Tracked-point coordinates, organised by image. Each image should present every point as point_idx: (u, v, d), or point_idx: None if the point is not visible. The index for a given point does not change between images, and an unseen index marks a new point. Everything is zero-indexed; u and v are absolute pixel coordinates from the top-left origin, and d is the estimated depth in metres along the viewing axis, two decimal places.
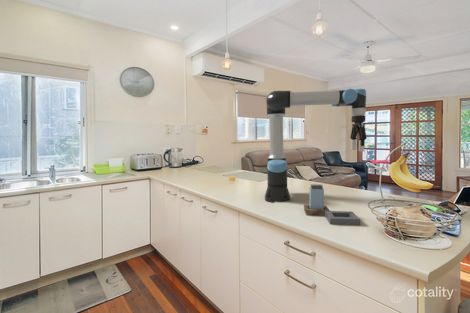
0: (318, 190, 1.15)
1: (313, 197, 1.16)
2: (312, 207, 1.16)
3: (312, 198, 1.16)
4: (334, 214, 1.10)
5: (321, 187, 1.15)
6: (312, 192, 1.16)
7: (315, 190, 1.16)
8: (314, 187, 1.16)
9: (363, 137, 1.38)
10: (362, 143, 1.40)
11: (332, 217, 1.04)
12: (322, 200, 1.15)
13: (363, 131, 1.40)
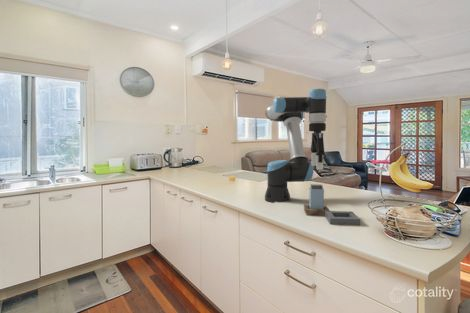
0: (318, 190, 1.15)
1: (313, 197, 1.16)
2: (312, 207, 1.16)
3: (312, 198, 1.16)
4: (334, 214, 1.10)
5: (321, 187, 1.15)
6: (312, 192, 1.16)
7: (315, 190, 1.16)
8: (314, 187, 1.16)
9: (320, 152, 1.06)
10: (320, 159, 1.08)
11: (332, 217, 1.04)
12: (322, 200, 1.15)
13: (321, 144, 1.07)
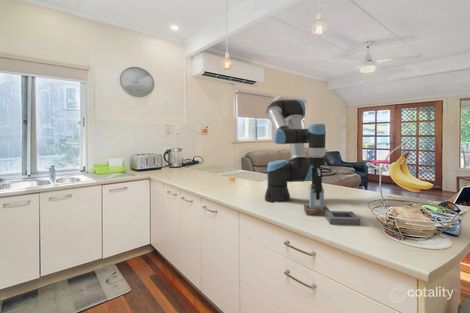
0: None
1: (313, 197, 1.16)
2: (312, 207, 1.16)
3: (312, 198, 1.16)
4: (334, 214, 1.10)
5: None
6: (312, 192, 1.16)
7: None
8: (314, 187, 1.16)
9: (317, 190, 1.12)
10: (317, 196, 1.14)
11: (332, 217, 1.04)
12: (322, 200, 1.15)
13: (319, 183, 1.11)
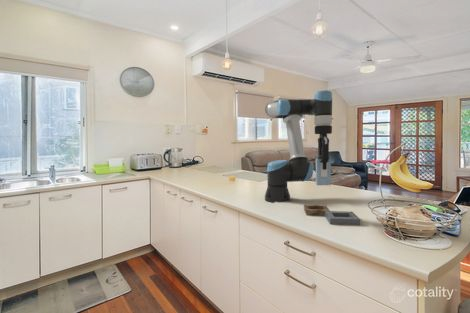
0: None
1: (319, 168, 1.11)
2: (319, 178, 1.12)
3: (318, 169, 1.11)
4: (334, 214, 1.10)
5: None
6: (318, 162, 1.11)
7: None
8: (320, 157, 1.11)
9: (324, 159, 1.07)
10: (324, 166, 1.09)
11: (332, 217, 1.04)
12: (329, 171, 1.11)
13: (326, 151, 1.07)
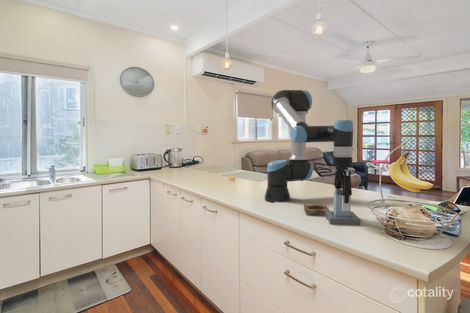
0: None
1: (339, 203, 1.05)
2: (337, 214, 1.05)
3: (337, 204, 1.05)
4: None
5: None
6: (337, 198, 1.05)
7: (341, 196, 1.04)
8: (340, 192, 1.05)
9: (347, 192, 0.97)
10: (346, 200, 0.99)
11: (332, 217, 1.04)
12: (349, 207, 1.04)
13: (348, 183, 0.98)
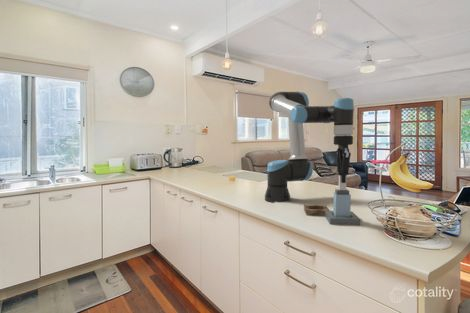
0: (344, 196, 1.04)
1: (339, 203, 1.05)
2: (337, 214, 1.05)
3: (337, 204, 1.05)
4: None
5: (348, 192, 1.04)
6: (337, 198, 1.05)
7: (341, 196, 1.04)
8: (340, 192, 1.05)
9: (344, 172, 1.02)
10: (343, 179, 1.04)
11: (332, 217, 1.04)
12: (349, 207, 1.04)
13: (346, 164, 1.00)
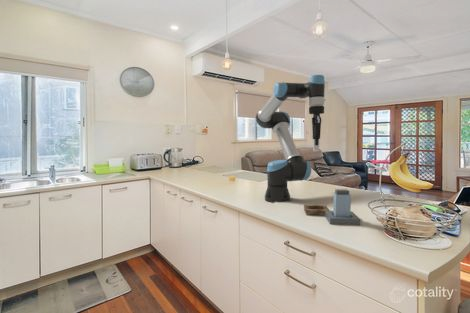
0: (344, 196, 1.04)
1: (339, 203, 1.05)
2: (337, 214, 1.05)
3: (337, 204, 1.05)
4: None
5: (348, 192, 1.04)
6: (337, 198, 1.05)
7: (341, 196, 1.04)
8: (340, 192, 1.05)
9: (316, 136, 1.24)
10: (316, 142, 1.26)
11: (332, 217, 1.04)
12: (349, 207, 1.04)
13: (318, 129, 1.23)
